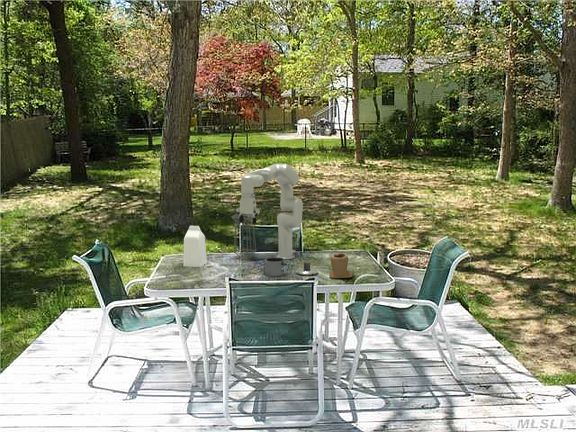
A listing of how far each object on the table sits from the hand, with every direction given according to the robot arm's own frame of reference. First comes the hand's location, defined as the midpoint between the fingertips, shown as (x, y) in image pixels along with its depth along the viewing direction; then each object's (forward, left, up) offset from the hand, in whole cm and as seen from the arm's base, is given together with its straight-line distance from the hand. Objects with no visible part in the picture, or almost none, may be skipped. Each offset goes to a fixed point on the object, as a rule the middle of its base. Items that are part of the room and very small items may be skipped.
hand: (248, 223), depth 345 cm
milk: (+6, -40, -31) cm, 51 cm away
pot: (-4, +18, -31) cm, 36 cm away
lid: (-16, +34, -31) cm, 48 cm away
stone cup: (-19, +57, -31) cm, 67 cm away
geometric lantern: (-27, -24, -31) cm, 48 cm away
